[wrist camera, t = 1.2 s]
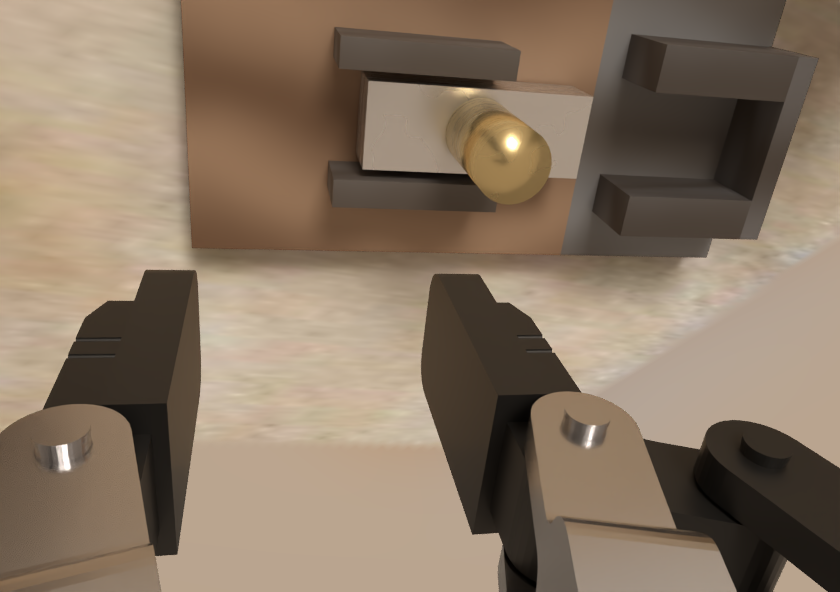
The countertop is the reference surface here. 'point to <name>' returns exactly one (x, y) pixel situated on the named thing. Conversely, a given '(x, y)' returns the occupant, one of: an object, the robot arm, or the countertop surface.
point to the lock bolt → (473, 130)
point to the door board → (491, 60)
